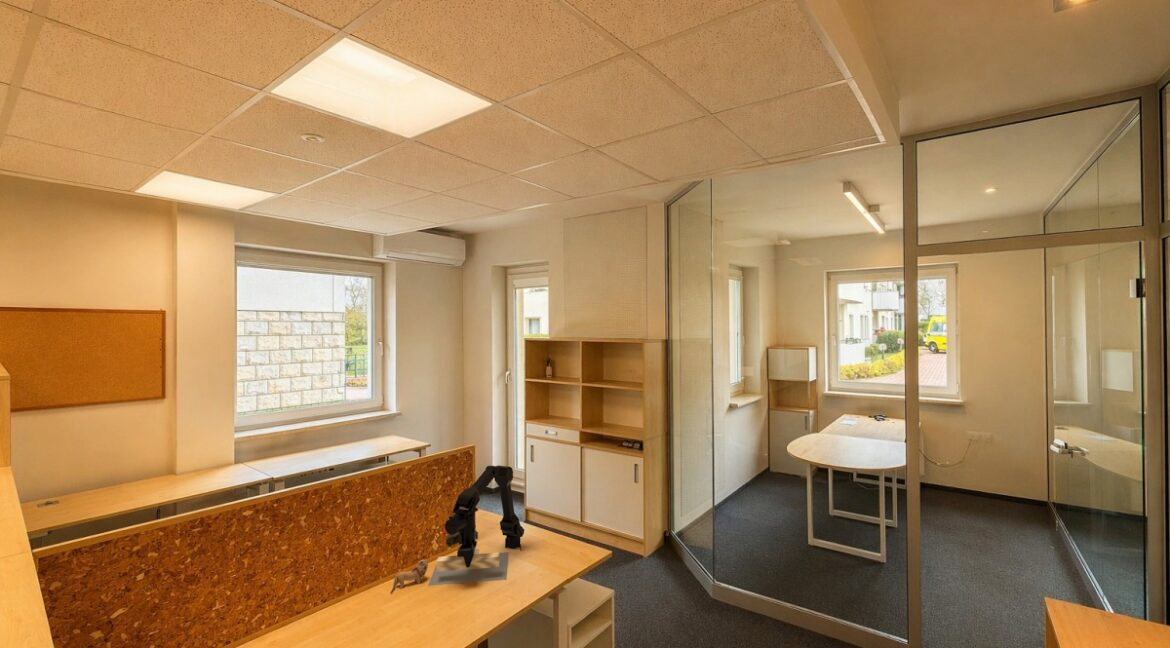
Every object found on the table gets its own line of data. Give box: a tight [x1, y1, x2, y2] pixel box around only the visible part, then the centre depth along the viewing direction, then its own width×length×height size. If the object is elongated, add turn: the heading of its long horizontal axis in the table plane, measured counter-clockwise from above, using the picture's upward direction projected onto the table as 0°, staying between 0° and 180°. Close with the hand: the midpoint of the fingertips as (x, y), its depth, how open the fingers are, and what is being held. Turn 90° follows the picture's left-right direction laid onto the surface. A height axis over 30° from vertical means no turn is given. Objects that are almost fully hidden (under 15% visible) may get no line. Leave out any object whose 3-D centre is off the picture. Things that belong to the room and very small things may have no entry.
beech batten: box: [436, 552, 500, 572], centre depth 198 cm, size 24×4×4 cm, turn 97°
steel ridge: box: [474, 546, 480, 554], centre depth 211 cm, size 5×8×5 cm, turn 7°
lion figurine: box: [389, 559, 429, 594], centre depth 194 cm, size 15×5×9 cm, turn 131°
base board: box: [428, 551, 509, 586], centre depth 207 cm, size 30×25×1 cm
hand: (468, 564), depth 198 cm, fingers closed on beech batten, 4 cm apart
